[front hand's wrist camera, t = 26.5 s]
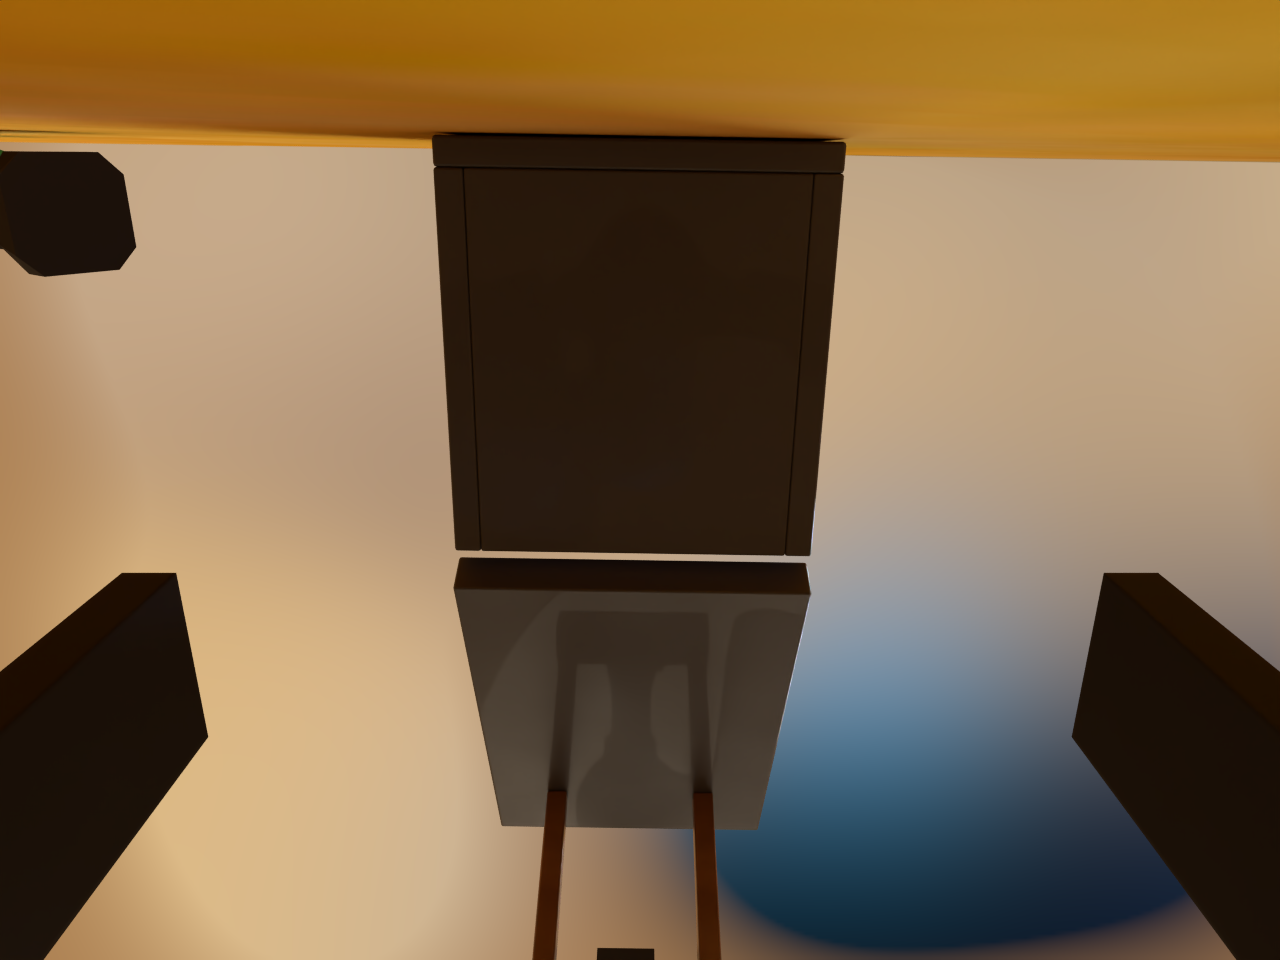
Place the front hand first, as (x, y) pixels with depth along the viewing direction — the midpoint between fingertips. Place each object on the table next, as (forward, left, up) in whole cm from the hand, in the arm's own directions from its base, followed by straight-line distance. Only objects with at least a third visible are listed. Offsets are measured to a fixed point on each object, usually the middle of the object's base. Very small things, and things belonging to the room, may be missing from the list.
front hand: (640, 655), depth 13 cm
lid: (+8, -12, +10) cm, 18 cm away
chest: (+10, -15, -7) cm, 19 cm away
